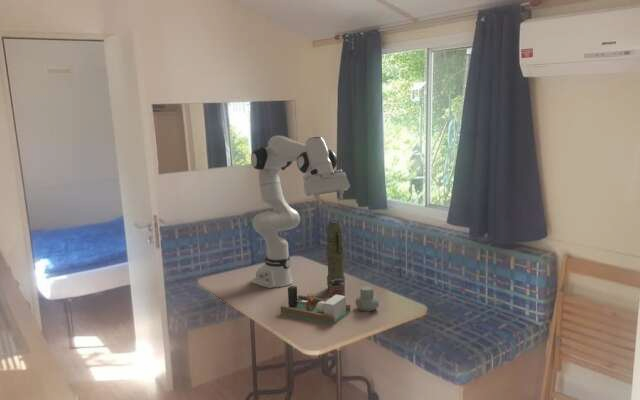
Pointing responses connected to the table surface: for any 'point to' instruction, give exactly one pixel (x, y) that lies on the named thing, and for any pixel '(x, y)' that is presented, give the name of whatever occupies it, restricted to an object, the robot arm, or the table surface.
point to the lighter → (336, 288)
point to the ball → (320, 306)
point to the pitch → (331, 315)
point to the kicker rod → (294, 301)
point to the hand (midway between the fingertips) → (331, 202)
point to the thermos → (335, 252)
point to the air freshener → (366, 299)
